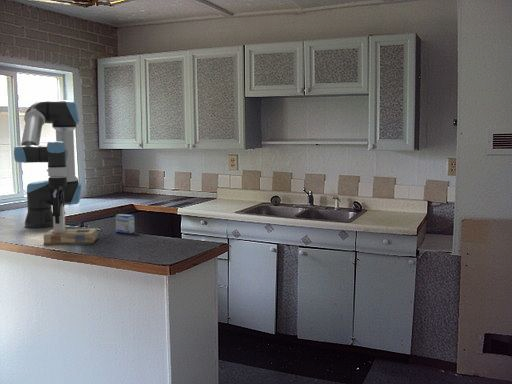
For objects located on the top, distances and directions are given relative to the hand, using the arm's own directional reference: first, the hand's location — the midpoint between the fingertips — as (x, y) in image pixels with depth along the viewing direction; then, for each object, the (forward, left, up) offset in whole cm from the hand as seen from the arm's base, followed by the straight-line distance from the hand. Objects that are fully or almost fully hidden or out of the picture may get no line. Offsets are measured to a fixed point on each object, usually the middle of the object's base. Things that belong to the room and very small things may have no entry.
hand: (59, 229), depth 233 cm
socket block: (0, +5, -5) cm, 7 cm away
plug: (0, 0, -2) cm, 2 cm away
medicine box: (-20, +26, -6) cm, 33 cm away
